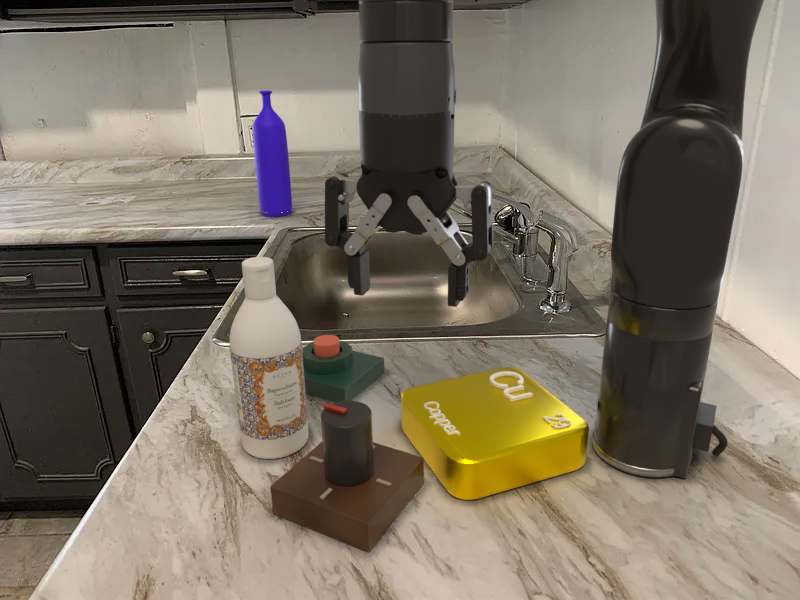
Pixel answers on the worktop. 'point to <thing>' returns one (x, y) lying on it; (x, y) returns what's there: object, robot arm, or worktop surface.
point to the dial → (347, 442)
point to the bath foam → (267, 367)
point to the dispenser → (339, 373)
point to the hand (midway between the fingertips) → (407, 298)
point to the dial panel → (349, 496)
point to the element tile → (492, 432)
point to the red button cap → (326, 346)
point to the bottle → (271, 161)
